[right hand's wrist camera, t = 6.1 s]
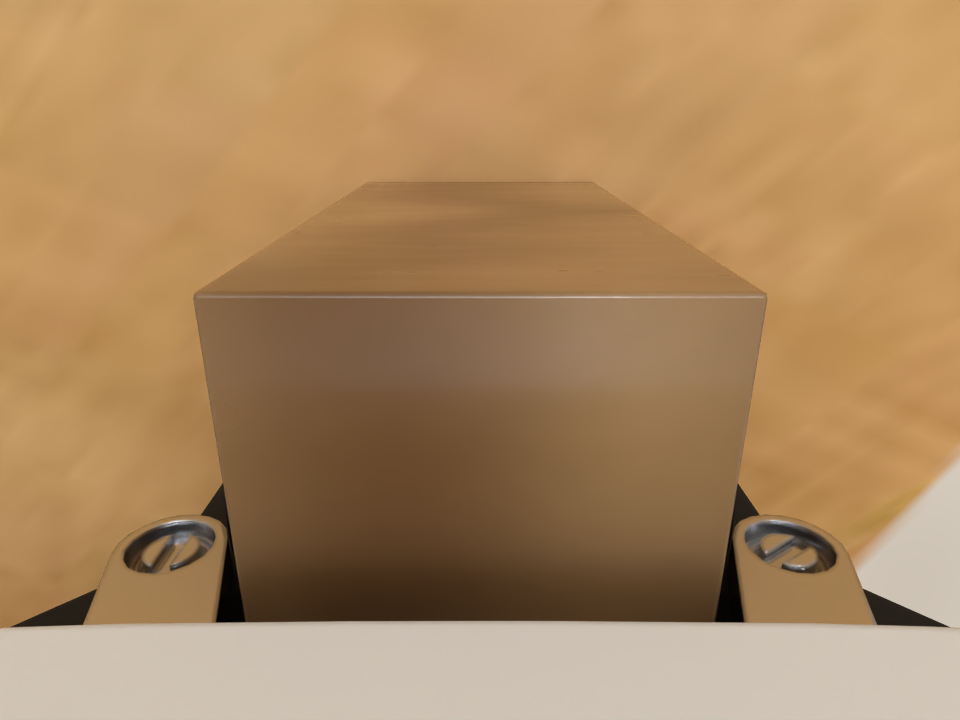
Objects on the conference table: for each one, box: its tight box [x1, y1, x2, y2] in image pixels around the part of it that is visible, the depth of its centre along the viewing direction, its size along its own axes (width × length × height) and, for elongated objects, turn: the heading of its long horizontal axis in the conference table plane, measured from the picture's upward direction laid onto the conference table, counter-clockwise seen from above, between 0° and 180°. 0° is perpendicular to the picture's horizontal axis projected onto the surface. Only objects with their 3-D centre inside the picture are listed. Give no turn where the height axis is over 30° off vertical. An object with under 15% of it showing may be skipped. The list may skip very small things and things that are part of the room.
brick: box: [193, 182, 767, 622], centre depth 11 cm, size 5×9×9 cm, turn 0°
